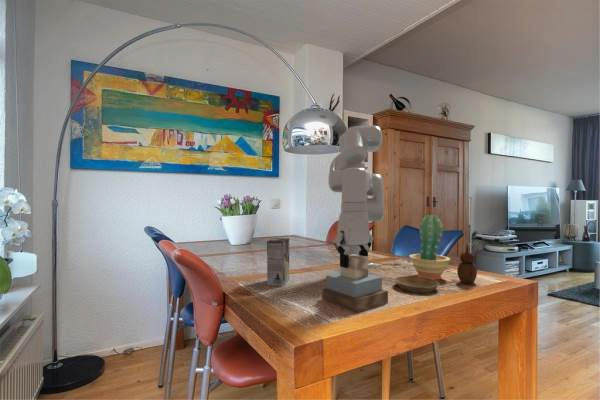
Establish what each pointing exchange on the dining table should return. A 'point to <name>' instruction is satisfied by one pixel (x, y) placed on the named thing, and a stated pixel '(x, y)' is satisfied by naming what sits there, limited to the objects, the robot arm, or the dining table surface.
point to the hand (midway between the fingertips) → (354, 265)
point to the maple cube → (356, 267)
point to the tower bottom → (356, 300)
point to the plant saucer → (416, 284)
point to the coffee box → (277, 261)
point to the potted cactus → (430, 250)
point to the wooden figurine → (467, 268)
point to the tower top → (354, 284)
